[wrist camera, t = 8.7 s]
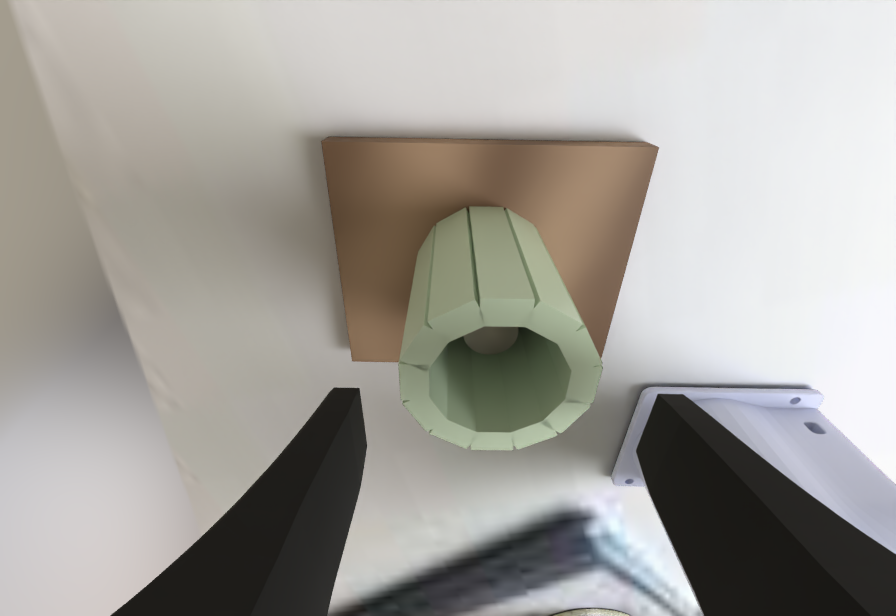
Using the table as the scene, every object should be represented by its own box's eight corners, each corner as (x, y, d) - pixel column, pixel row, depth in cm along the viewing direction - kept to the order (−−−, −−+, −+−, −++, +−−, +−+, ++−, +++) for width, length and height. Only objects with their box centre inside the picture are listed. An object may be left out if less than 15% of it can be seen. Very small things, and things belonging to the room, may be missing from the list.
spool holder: (647, 142, 15) (734, 179, 11) (592, 352, 20) (635, 439, 16) (328, 136, 15) (274, 171, 11) (356, 348, 20) (327, 434, 16)
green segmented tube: (556, 207, 16) (621, 300, 10) (538, 324, 18) (579, 451, 12) (416, 205, 16) (394, 297, 10) (419, 322, 18) (403, 449, 12)
